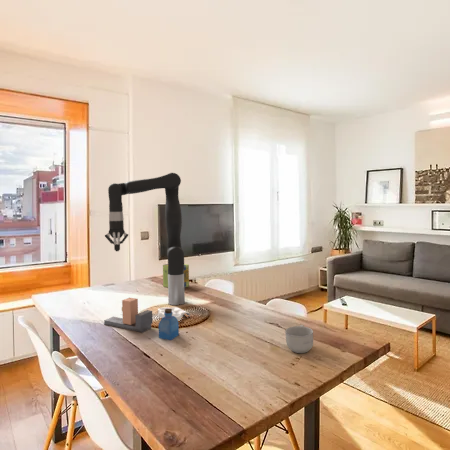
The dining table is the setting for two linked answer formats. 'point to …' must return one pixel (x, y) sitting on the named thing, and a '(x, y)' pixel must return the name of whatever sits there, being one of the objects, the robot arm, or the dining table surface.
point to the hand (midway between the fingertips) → (117, 251)
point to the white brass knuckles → (175, 312)
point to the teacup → (299, 338)
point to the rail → (141, 323)
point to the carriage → (129, 310)
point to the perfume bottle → (168, 326)
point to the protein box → (186, 275)
